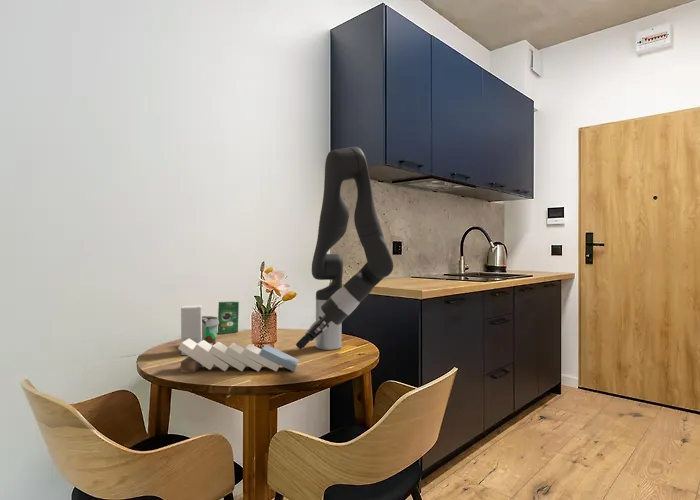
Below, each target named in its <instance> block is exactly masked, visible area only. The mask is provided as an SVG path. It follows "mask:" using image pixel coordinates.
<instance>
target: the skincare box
mask: <svg viewBox="0 0 700 500" xmlns="http://www.w3.org/2000/svg"><path fill="white" fill-rule="evenodd" d="M202 310H203V308H202V304H194V305H193V304H191V305H182V306H181V308H180V324H181V325H180V326H181V327H180V331H181V333H180V339H181V342H180V344H181V343H182V342H184V341H185V340H187V339H189V338H190V339H191V340H193V341H194V342H196V343H197V344H198V343H199V342H201V341H202V316H203V313H202V312H203V311H202ZM180 352H181V353H180V354H181V356H188V355H187V354H185V353H184V352H182V351H181V350H180Z"/></svg>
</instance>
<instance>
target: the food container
mask: <svg viewBox="0 0 700 500" xmlns="http://www.w3.org/2000/svg"><path fill="white" fill-rule="evenodd" d="M218 324H219V320H218V316H213V315H212V316H211V315H205V316H203V315H202V341H203V340H205V341H206V342H208V343H209V344H211V345H212V346H213V345H214V344H216V343H217V335H218Z"/></svg>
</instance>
